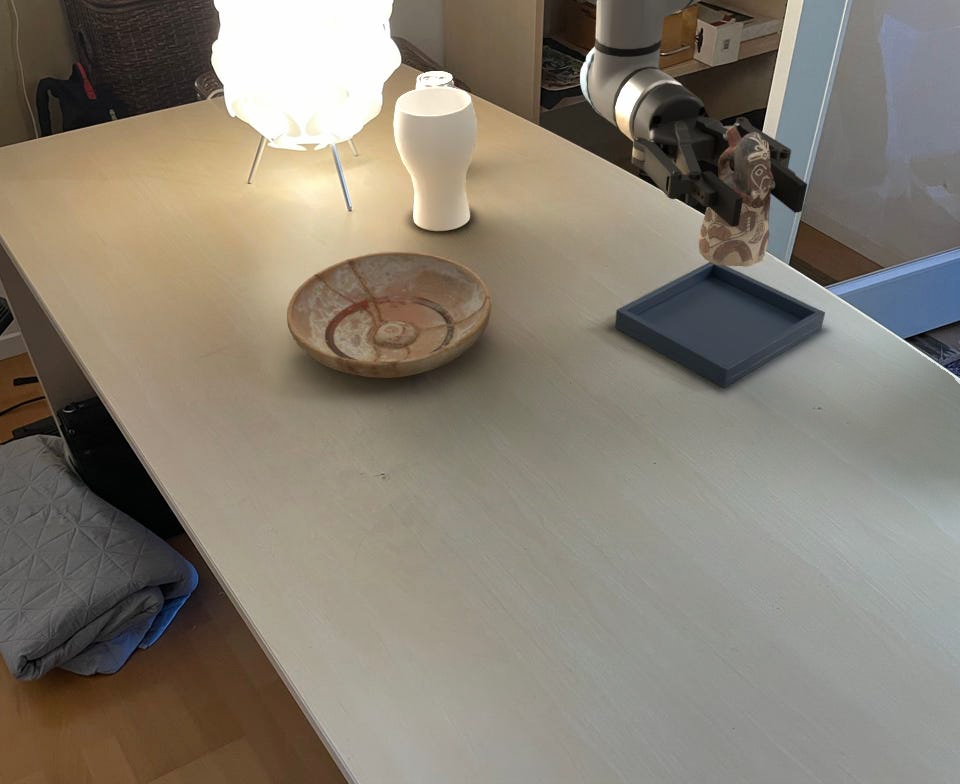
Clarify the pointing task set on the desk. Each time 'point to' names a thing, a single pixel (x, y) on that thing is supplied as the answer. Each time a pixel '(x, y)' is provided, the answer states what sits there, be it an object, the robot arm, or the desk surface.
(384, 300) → the ceramic bowl
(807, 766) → the desk surface
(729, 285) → the tray
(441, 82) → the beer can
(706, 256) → the figurine
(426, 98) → the cup
